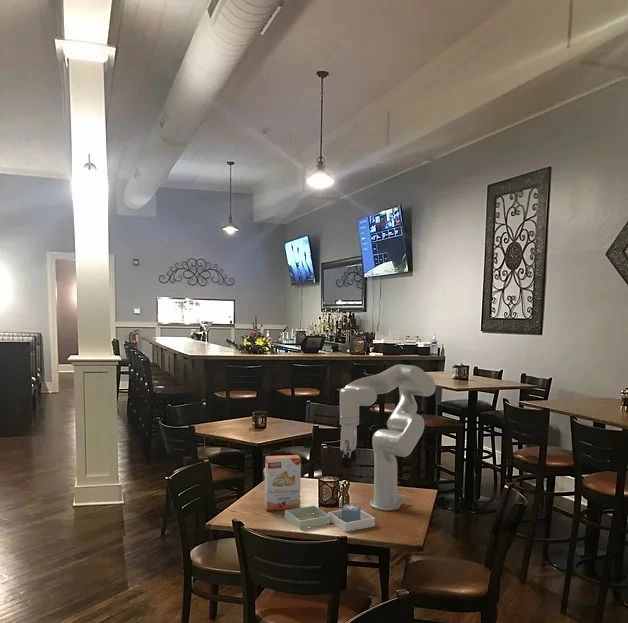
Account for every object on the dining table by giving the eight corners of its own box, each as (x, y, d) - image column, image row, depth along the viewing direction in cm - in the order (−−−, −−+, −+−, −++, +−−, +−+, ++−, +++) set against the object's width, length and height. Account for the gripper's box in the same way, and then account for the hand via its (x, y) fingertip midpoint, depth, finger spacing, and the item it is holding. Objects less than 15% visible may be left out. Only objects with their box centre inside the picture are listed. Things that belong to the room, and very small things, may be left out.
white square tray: (356, 515, 219) (356, 507, 219) (374, 526, 208) (374, 518, 208) (327, 520, 213) (327, 512, 213) (345, 531, 201) (345, 523, 201)
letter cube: (345, 519, 214) (345, 503, 214) (360, 521, 212) (360, 505, 212) (341, 525, 208) (341, 508, 208) (356, 527, 206) (357, 510, 206)
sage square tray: (314, 513, 220) (314, 505, 220) (330, 524, 209) (330, 516, 209) (284, 518, 214) (284, 510, 214) (299, 529, 203) (300, 521, 203)
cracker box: (266, 511, 221) (267, 459, 221) (263, 506, 227) (264, 455, 227) (300, 509, 225) (301, 457, 225) (296, 504, 230) (297, 454, 231)
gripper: (344, 415, 223) (344, 457, 223) (335, 424, 207) (335, 470, 207) (362, 416, 221) (362, 459, 222) (354, 425, 205) (354, 471, 205)
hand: (349, 464), depth 214 cm, fingers open, 9 cm apart
